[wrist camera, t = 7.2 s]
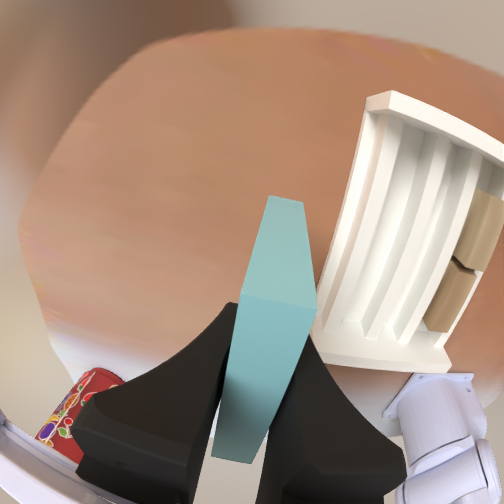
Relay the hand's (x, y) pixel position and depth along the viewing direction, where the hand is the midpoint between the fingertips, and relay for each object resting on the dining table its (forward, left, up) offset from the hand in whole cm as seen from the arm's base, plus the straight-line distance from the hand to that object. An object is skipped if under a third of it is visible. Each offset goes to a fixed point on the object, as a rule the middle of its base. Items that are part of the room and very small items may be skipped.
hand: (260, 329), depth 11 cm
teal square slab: (0, 0, -5) cm, 5 cm away
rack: (-10, -2, -10) cm, 15 cm away
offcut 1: (-13, +1, -10) cm, 17 cm away
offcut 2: (-13, -5, -10) cm, 17 cm away
